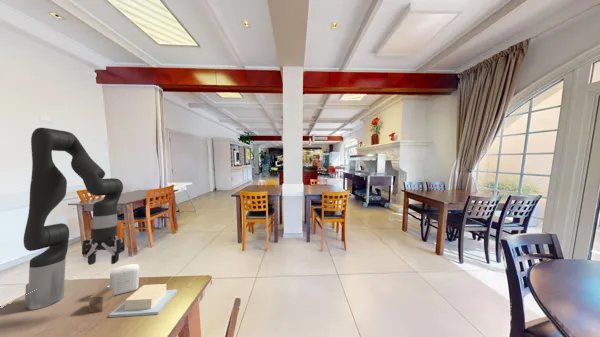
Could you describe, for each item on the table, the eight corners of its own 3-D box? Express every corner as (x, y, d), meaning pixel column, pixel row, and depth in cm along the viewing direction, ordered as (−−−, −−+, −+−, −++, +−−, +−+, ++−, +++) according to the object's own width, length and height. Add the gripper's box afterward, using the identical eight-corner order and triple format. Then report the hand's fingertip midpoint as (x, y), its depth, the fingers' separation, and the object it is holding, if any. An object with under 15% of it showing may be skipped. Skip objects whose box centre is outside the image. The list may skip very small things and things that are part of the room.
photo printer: (139, 285, 91) (140, 260, 91) (137, 290, 87) (138, 264, 88) (110, 292, 85) (111, 266, 86) (107, 298, 82) (108, 270, 82)
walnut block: (88, 312, 74) (89, 297, 74) (100, 303, 79) (101, 289, 79) (102, 311, 74) (102, 296, 74) (113, 302, 79) (114, 288, 79)
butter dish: (109, 317, 71) (109, 304, 71) (137, 293, 85) (137, 282, 85) (158, 314, 73) (158, 301, 73) (177, 291, 87) (178, 281, 87)
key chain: (111, 285, 91) (111, 282, 91) (117, 286, 91) (118, 283, 91) (77, 304, 78) (77, 301, 78) (84, 305, 78) (85, 301, 78)
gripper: (76, 228, 72) (74, 269, 72) (115, 227, 74) (113, 267, 74) (95, 223, 80) (93, 259, 80) (130, 222, 81) (129, 258, 81)
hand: (103, 263), depth 77 cm, fingers open, 8 cm apart
